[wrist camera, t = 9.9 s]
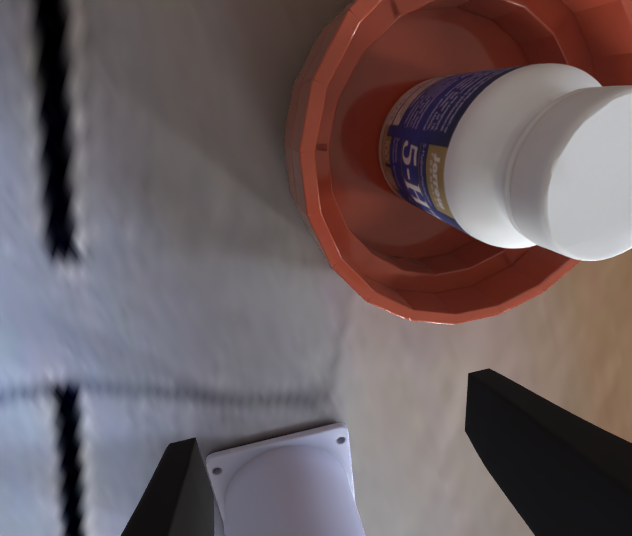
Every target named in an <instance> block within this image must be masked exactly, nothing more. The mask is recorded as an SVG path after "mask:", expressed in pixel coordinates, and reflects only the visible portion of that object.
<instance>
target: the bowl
mask: <svg viewBox="0 0 632 536" xmlns="http://www.w3.org/2000/svg"><path fill="white" fill-rule="evenodd" d="M546 63H555V64H564V65H569V66H573V67H576V68H578V69H580V70H582V71H584V72H586V73H588V74H589V75H591V76H592V77H593V78H595V79H596V80H597V81H598V82H599V83H600V84H601V86H623V85H632V0H351V1H350V2H349V3H348V4H347V5H346V6H345V7H344V8H343V9H342V10H341V11H340V12H339V13H338V14H337V15H336V16H335V17H334V18H333V19H332V20H331V21H330V22H329V23H328V25H327V26H326V27H325V28H324V29H323V30H322V31H321V32H320V34H318V36H317V38H316V40H315V42H314V44H313V46H312V48H311V50H310V52H309V55H308V57H307V59H306V61H305V63H304V65H303V67H302V69H301V71H300V73H299V75H298V77H297V79H296V81H295V83H294V85H293V88H292V93H291V99H290V105H289V111H288V117H287V123H286V129H285V135H284V151H285V158H286V166H287V173H288V181H289V188H290V193H291V196H292V198H293V200H294V202H295V204H296V206H297V208H298V210H299V213H300V215H301V217H302V219H303V221H304V223H305V225H306V227H307V229H308V231H309V233H310V235H311V236H312V238H313V240H314V241H315V243H316V244H317V246H318V247H319V249H320V251H321V252H322V254H323V255H324V257H325V258H326V260H327V261H328V263H329V265H330V266H331V267H332V268H333V269H334V270H335V271H336V272H337V273H338V274H339V275H340V276H341V277H342V278H343V279H344V280H345V281H346V282H347V283H348V284H349V285H350V286H351V287H352V288H353V289H354V290H355V291H356V292H357V293H358V294H359V295H360V296H361V297H362V298H363V299H364V300H365V301H367V302H368V303H371V304H373V305H375V306H377V307H379V308H382V309H384V310H386V311H388V312H391V313H393V314H395V315H397V316H399V317H402V318H404V319H406V320H409V321H419V322H430V323H441V324H458V323H463V322H468V321H472V320H477V319H482V318H487V317H491V316H496V315H499V314H502V313H504V312H506V311H508V310H510V309H512V308H514V307H516V306H518V305H520V304H522V303H524V302H526V301H528V300H529V299H531V298H533V297H535V296H537V295H539V294H541V293H543V292H544V291H546V290H547V289H548V288H549V287H550V286H552V285H553V284H554V283H555V282H556V281H558V280H559V279H560V278H561V277H562V276H563V275H565V274H566V273H567V272H568V271H569V270H571V269H572V268H573V267H574V266H575V265H576V264H578V263H579V262H580V261H581V260H577V259H573V258H570V257H567V256H564V255H562V254H559V253H557V252H554V251H552V250H549V249H546V248H544V247H541V246H538V245H535V246H531V247H526V248H502V247H496V246H492V245H489V244H486V243H484V242H482V241H480V240H478V239H476V238H473V237H472V236H470V235H468V234H466V233H464V232H462V231H460V230H459V229H457V228H455V227H453V226H451V225H449V224H448V223H446V222H444V221H442V220H440V219H438V218H437V217H435V216H433V215H431V214H429V213H427V212H425V211H423V210H422V209H420V208H418V207H416V206H414V205H412V204H410V203H409V202H407V201H405V200H403V199H402V198H400V197H399V196H398V195H397V194H396V193H395V192H394V191H393V190H392V189H391V188H390V186H389V185H388V183H387V181H386V180H385V178H384V175H383V173H382V170H381V167H380V162H379V151H378V149H379V139H380V134H381V130H382V127H383V124H384V122H385V119H386V117H387V115H388V113H389V112H390V110H391V108H392V107H393V106H394V104H395V103H396V102H397V101H398V99H399V98H400V97H401V96H402V95H403V94H404V93H406V92H407V91H408V90H409V89H411V88H412V87H414V86H415V85H417V84H419V83H421V82H423V81H426V80H429V79H432V78H437V77H442V76H448V75H456V74H463V73H470V72H478V71H485V70H493V69H501V68H508V67H515V66H523V65H531V64H546Z"/></svg>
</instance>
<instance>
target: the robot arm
mask: <svg viewBox="0 0 632 536" xmlns="http://www.w3.org/2000/svg"><path fill="white" fill-rule="evenodd" d="M465 431H466V433H467V435H468V437H469V439H470V441H471V442H472V444H473V446H474V448H475V450H476V452H477V453H478V455H479V457H480V458H481V460H482V462H483V464H484V465H485V467H486V468H487V470H488V471H489V473H490V474H491V475H492V477H493V478H494V480H495V481H496V482H497V484H498V485H499V487H500V488H501V489H502V491H503V492H504V494H505V495H506V496H507V498H508V499H509V500H510V502H511V503H512V505H513V506H514V507H515V509H516V510H517V511H518V513H519V514H520V516H521V517H522V518H523V520H524V521H525V522H526V524H527V525H528V526H529V528H530V529H531V531H532V532H533V533H534V535H535V536H632V443H630V442H628V441H626V440H624V439H622V438H620V437H618V436H616V435H613V434H611V433H609V432H607V431H605V430H603V429H601V428H599V427H597V426H595V425H593V424H591V423H589V422H587V421H585V420H583V419H582V418H580V417H578V416H576V415H574V414H572V413H570V412H568V411H566V410H565V409H563V408H561V407H559V406H557V405H555V404H553V403H552V402H550V401H548V400H546V399H544V398H543V397H541V396H539V395H537V394H535V393H533V392H532V391H530V390H528V389H526V388H524V387H523V386H521V385H519V384H517V383H515V382H514V381H512V380H510V379H508V378H506V377H505V376H503V375H501V374H499V373H497V372H495V371H493V370H491V369H485V370H481V371H476V372H472V373H468V389H467V405H466V421H465ZM339 437H341V438H339ZM338 438H339V439H338ZM206 468H207V471H208V475H209V478H210V481H211V484H212V488H213V491H214V494H215V497H216V501H217V504H218V507H219V510H220V514H221V517H222V520H223V523H224V527H225V536H366V535H365V532H364V529H363V526H362V523H361V519H360V516H359V513H358V510H357V507H356V504H355V494H354V484H353V474H352V464H351V454H350V443H349V433H348V429H347V426H346V425H345V424H344V423H341V422H340V423H335V424H330V425H326V426H322V427H318V428H314V429H310V430H306V431H301V432H297V433H293V434H289V435H285V436H281V437H277V438H273V439H268V440H264V441H260V442H256V443H252V444H248V445H244V446H240V447H235V448H231V449H227V450H223V451H219V452H215V453H212V454H210V455H209V456H207V458H206ZM215 468H218V469H215ZM121 536H214V496H213V492H212V489H211V486H210V482H209V479H208V476H207V473H206V470H205V466H204V463H203V460H202V457H201V453H200V450H199V447H198V444H197V441H196V438H191V439H187V440H183V441H179V442H174V443H170V444H169V445H168V447H167V448H166V450H165V452H164V454H163V456H162V458H161V460H160V462H159V464H158V466H157V468H156V470H155V472H154V474H153V476H152V478H151V480H150V482H149V484H148V486H147V488H146V490H145V492H144V494H143V496H142V498H141V500H140V502H139V503H138V505H137V507H136V509H135V511H134V513H133V514H132V516H131V518H130V520H129V522H128V523H127V525H126V527H125V529H124V531H123V533H122V534H121Z"/></svg>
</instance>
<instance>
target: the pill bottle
mask: <svg viewBox="0 0 632 536" xmlns="http://www.w3.org/2000/svg"><path fill="white" fill-rule="evenodd" d="M378 151H379V162H380V167H381V170H382V173H383V175H384V178H385V180H386V181H387V183H388V185H389V186H390V188H391V189H392V190H393V191H394V192H395V193H396V194H397V195H398V196H399V197H400V198H402V199H403V200H405V201H407V202H409V203H410V204H412V205H414V206H416V207H418V208H420V209H422V210H423V211H425V212H427V213H429V214H431V215H433V216H435V217H437V218H438V219H440V220H442V221H444V222H446V223H448V224H449V225H451V226H453V227H455V228H457V229H459V230H460V231H462V232H464V233H466V234H468V235H470V236H472V237H473V238H476V239H478V240H480V241H482V242H484V243H486V244H489V245H492V246H496V247H502V248H526V247H531V246H535V245H538V246H541V247H544V248H546V249H549V250H552V251H554V252H557V253H559V254H562V255H564V256H567V257H570V258H573V259H577V260H584V261H597V260H603V259H607V258H611V257H614V256H616V255H619V254H621V253H623V252H625V251H627V250H629V249H631V248H632V85H623V86H601V84H600V83H599V82H598V81H597V80H596V79H595V78H593V77H592V76H591V75H589V74H588V73H586V72H584V71H582V70H580V69H578V68H576V67H573V66H569V65H564V64H555V63H546V64H531V65H523V66H515V67H508V68H501V69H493V70H485V71H478V72H470V73H463V74H456V75H448V76H442V77H437V78H432V79H429V80H426V81H423V82H421V83H419V84H417V85H415V86H414V87H412V88H411V89H409V90H408V91H407V92H406V93H404V94H403V95H402V96H401V97H400V98H399V99H398V101H397V102H396V103H395V104H394V106H393V107H392V108H391V110H390V112H389V113H388V115H387V117H386V119H385V122H384V124H383V127H382V130H381V134H380V139H379V149H378Z"/></svg>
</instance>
